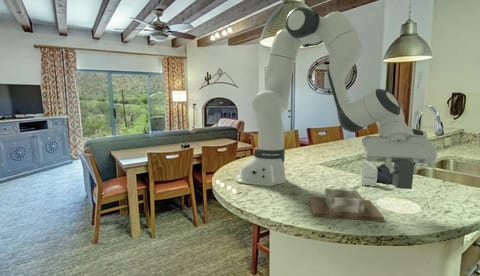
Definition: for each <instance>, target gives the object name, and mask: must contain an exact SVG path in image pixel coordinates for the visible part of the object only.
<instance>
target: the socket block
mask: <svg viewBox="0 0 480 276" xmlns="http://www.w3.org/2000/svg"><path fill="white" fill-rule="evenodd" d="M308 199H309V205H310V209H311V210H310V211H311V213H312V217H315V218H316V217H319V218H328V219H330V218H333V219H346V220H348V219H349V220H363V221H364V220H365V221H374V222H375V221H376V222H384V221H385V219H384V218H385V217H384V216H383V214H382V213H381V212H380V211H379V209H378V208H377V207H376V206H375V204H374V203H373V202H372V201H371V200H369V199H364V198H363V196H362V195H361V194H360V193H359V192H358V190H357V189H345V188H344V189H342V188H341V189H340V188H327V187H326V188H324V197H321V196H320V197H319V196H309V198H308Z"/></svg>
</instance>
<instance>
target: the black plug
mask: <svg viewBox="0 0 480 276" xmlns="http://www.w3.org/2000/svg"><path fill="white" fill-rule="evenodd" d="M393 163H394V164H393V166H397V170H398V171H397V173H396V174H393V181H392V186H394V187H395V188H396V189H402V190H412V189H413V179H414V175H413V172H414V163H413V162H411V161H409V160H394V162H393Z"/></svg>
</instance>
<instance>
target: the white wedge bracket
mask: <svg viewBox="0 0 480 276" xmlns="http://www.w3.org/2000/svg"><path fill="white" fill-rule="evenodd" d="M361 167H362V169H361V181H360V185H361V184H364V185H371V186H370V187H372V186H376V187H377V186H378V185H377V183H378V182H377V171H378V169H377V167H375V166H373V165H372V164H370V163H369V162H368V161H367V160H365V159H363V160H362V165H361ZM374 173H375V174H374ZM364 185H363V186H364Z"/></svg>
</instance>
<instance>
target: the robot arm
mask: <svg viewBox="0 0 480 276" xmlns="http://www.w3.org/2000/svg"><path fill="white" fill-rule="evenodd" d="M286 16H287V17H286V18H285V28H283V29H279V30H278V31H277V32H276V34H275V36H274V39H273V40H272V41H273V42H272V44H271V46H270V47H271V48H270V50H269V55H268V58H267V64H266V66H265V67H266V68H265V73H264V75H265V90H263V91H260V92H259V93H257V94H256V95H255V96H254V97H253V99H252V104H251V106H252V110H253V112H254V113H255V114H254V115H255V119H256V125H257V131H258V132H257V134H258V135H257V136H258V137H257V139H258V141H257V142H258V145H257V146H258V147H254V148H253V156H252V157H251V158H250V159H249V160H247V161H245V163H243V165H241V170H240V173H239V174H237V175H236V176H235V181H236V183H238V184H247V185H253V186H256V185H257V186H264V187H273V186H275V185H280V184H284V183H286V182H287V181H288V179H287V175H286V170H285V160H286V159H285V158H286V151H285V150H286V149H285V147H284V146H285V129H284V127H283V120H282V115H283V114H284V113H285V112H286V111H287V110H288V108H289V105H290V104H289V100H290V91H291V83H292V76H293V72H294V68H295V64H296V60H297V56H298V52H299V50H300V48H301V47H303V48H308V47H309V48H310V47H315V46H318V45H321V44H324V46H325V48H326V50H327V53H328V57H329V64H328V67H327V69H326V72H327V78H328V81H329V86H330V89H331V92H332V96H333V100H334V104H335V107H336V112H337V118H338V122H339V124H340V126H341V128H343V130H345V131H347V132H349V133H357V132H359V131H361V130H363V129H365V128H366V127H369V126H370V125H373V124H374V123H375V124H376V125H377V127H378V129H377V131H378V132H377V134H378V135H366V136H364V137H363V138H362V140H361V142H362V146H363V148H364V150H363V151H364V153H363V154H364V160H365V161H366V162H376V163H383V164H385V165H386V166H387V167H388V168H389V169H390V173H392V174H396V173H397V171H398V170H397V166H394V164H393V163H394V160H409V161H411V162H413V163H414V172H413V176H414V175H417V174H418V170H417V167H418V165H421V164H422V165H431V164H433V163H434V162H435V161H436V160H437V158H438V153H437V151H436V149H435V146H434V144H433V142H432V141H431V140H430V139H428V138H427V137H428V133H427V131H425V130H422V129H417V128H414V127H411V126H408V125H407V122H406V121H405V114H404V112H403V109H402V106H401V105H400V102H399V99H398V98H397V97H396V95H395V94H394V93H392V92H391V91H390V90H387V89H383V88H376V89H375V90H372V91H370V92H369V93H366V94H365V95H363V96H362V97H360V98H358V99H356V100H354V101H352V102H351V101H350V98H349V94H348V91H347V87H346V84H345V83H346V78H347V76H348V74H349V72H350V71H351V69H352V68H353V67H354V66H355V65H356V63H357V62H358V60H359V59H360V57H361V55H362V52H363V43H362V39H361V38H360V35H359V33H358V32H357V29H355V26H354V25H353V23H352V22H351V21H350V19H349V18H348V17H347V15H345V14H344V13H343V12H341V11H332V12H329V13H328V14H326V15H324V16H320V14H319V13H318V12H317V11H314V10H312V9H310V8H308V7H303V6H302V7H301V6H299V7H295V8H293V9H292V10H291V11H289V13H288V15H286Z"/></svg>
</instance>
